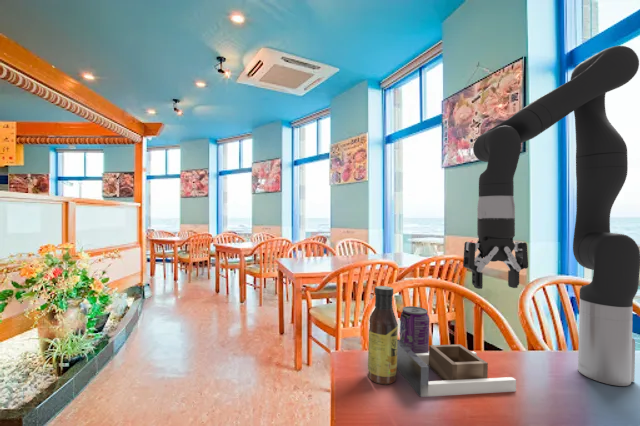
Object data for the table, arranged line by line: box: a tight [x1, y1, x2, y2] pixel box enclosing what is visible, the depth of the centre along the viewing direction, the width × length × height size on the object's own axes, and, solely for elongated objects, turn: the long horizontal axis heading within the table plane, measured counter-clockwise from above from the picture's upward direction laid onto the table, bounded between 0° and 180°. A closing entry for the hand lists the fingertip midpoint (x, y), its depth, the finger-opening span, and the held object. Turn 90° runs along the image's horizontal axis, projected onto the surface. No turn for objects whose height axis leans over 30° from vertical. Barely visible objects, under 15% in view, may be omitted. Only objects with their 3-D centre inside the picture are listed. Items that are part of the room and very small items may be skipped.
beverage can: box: [399, 305, 430, 353], centre depth 83 cm, size 7×7×12 cm
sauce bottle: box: [367, 285, 399, 385], centre depth 71 cm, size 7×6×20 cm
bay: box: [397, 338, 517, 398], centre depth 72 cm, size 21×14×6 cm
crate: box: [428, 344, 489, 381], centre depth 72 cm, size 8×10×5 cm
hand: (495, 287), depth 73 cm, fingers open, 8 cm apart
